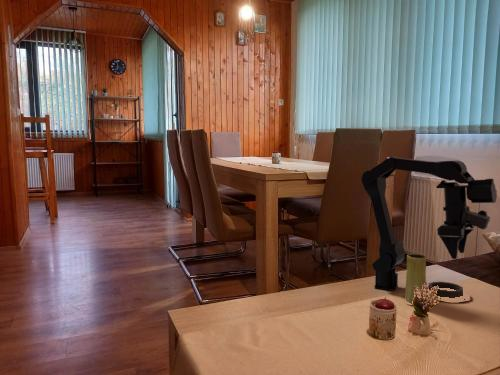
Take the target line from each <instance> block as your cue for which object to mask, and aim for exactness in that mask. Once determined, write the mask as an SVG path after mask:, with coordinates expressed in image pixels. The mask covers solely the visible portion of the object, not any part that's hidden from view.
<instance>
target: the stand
mask: <svg viewBox="0 0 500 375" xmlns="http://www.w3.org/2000/svg"><path fill="white" fill-rule="evenodd" d="M437 285H438V286H439V288H450V289H454V290H456V291H447V290H440V289H438V291H437V294H436V295H437V296H440V297H449V298H455V297H460V296H463V290H464V289H463V286H462V285H459V284H456V283H454V282H447V281H432V282H430V283H428V286H429V290H430V289H431V288H432V287H434V286H437ZM440 299H441V298H440ZM464 300H465V299H464Z"/></svg>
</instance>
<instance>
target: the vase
mask: <svg viewBox="0 0 500 375" xmlns="http://www.w3.org/2000/svg"><path fill="white" fill-rule="evenodd" d="M426 273H427V256H426V255H424V254H421V253H419V254H418V253H409V254H407V255H406V276H405V278H406V280H405V291H404V293H405V294H404V300H405V299H406V301H407V302H409V303H411V304H412V301H413V298H414V286H413V285H414V284H416V285H417V286H418V287H419V289H420V290H421V289H422V285H423V284H424V283H426V284H427V275H426Z"/></svg>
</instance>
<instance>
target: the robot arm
mask: <svg viewBox="0 0 500 375" xmlns="http://www.w3.org/2000/svg"><path fill="white" fill-rule="evenodd" d="M396 170H398V171H406V172H414V173H422V174H429V175H432V176H435V177H436V178H439V179H442V180H441V181H440V182H439V184H437V185H436V189H443V194H444V195H443V196H444V206H443V209H442V210H443V212H444V213H445V216H444V217H445V220H444V221H443V224H442V225H439V226H438V228H437V230H436V231H437V236H438V237H439V238H440V239H441V241H442V243H443V244H444V246H445V248H446V250H447V251H448V254H449V255H450V258H451V259H452V260H457V259H458V252H459V253H460V254H464V253H465V249H466V245H467V241H468V240H467V239H468V235H469V234H471V233H472V232H473V231H474V229H475V227H477V228H478V229H481V230H486V229H487V228H488V226H489V222H490V221H491V217H490V216H488V211H485V210H482V209H481V210H479V211H478V212H476V211H471V209H470V206H469V205H467V200H468V201H471V203H472V204H496V203H497V197H498V196H497V194H498V193H497V189H496V184H495V180H494V178H485V179H475V178H474V177H473V176H472V175H471V173H469V172H468V168H467V166H466V164H465V162H464V161H461V160H444V161H443V160H441V161H432V160H431V161H430V160H429V161H428V160H421V159H413V158H412V159H411V158H403V157H398V156H389V157H386V159H385V160H383V161H381V163H379V164H377V165H376V166H373V167H372V169H369V170H366V171H364V172H363V174H361V177H360V182H361V185H362V186H363V189H364V191H365V193H366V194H367V195H368V197H369V198H370V203H371V205H372V211H373V215H374V219H375V223H376V228H377V230H378V232H377V233H378V235H379V236H378V237H379V245H378V256H379V257H378V258H377V259H376V260H374V262H373V263H372V264H371V266H372V268H373V271H374V272H375V277H374V278H375V282H374V286H373V287H374V289H377V290H378V289H380V290H388V291H396V289H397V288H398V285H399V273H398V272H397V268H398V267H399V265H400V264H401V263H402V262H403V261H404V260H405V254H406V253H407V252H406V251H405V248H404V242H403V241H398V240H397V238H396V236H395V233H394V229H393V224H392V220H391V215H390V212H389V211H390V210H389V208H388V203H387V199H386V190H387V179H388V178H389V177H390V176H392V174H394V172H395V171H396ZM447 181H451V182H447ZM463 184H465V185H463ZM466 184H467V185H466Z"/></svg>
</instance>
